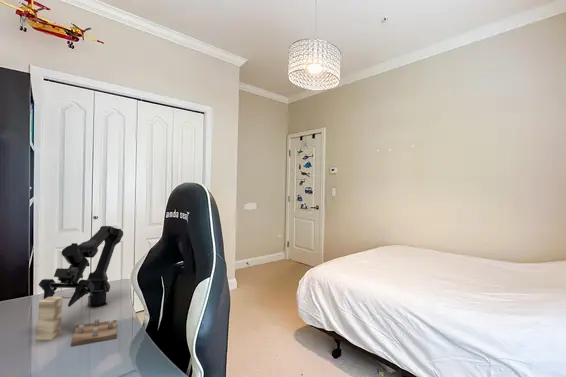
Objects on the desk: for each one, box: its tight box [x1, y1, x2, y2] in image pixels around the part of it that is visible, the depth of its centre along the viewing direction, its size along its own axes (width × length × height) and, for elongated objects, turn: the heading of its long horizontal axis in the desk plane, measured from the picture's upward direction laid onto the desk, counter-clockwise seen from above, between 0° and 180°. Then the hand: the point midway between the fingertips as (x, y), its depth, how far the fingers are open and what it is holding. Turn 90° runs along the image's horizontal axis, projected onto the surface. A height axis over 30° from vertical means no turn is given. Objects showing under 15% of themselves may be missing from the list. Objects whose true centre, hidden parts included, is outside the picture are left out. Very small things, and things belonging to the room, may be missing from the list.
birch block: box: [36, 296, 64, 341], centre depth 110 cm, size 5×5×14 cm
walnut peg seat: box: [70, 317, 118, 347], centre depth 113 cm, size 14×14×4 cm
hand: (56, 306), depth 113 cm, fingers open, 9 cm apart
